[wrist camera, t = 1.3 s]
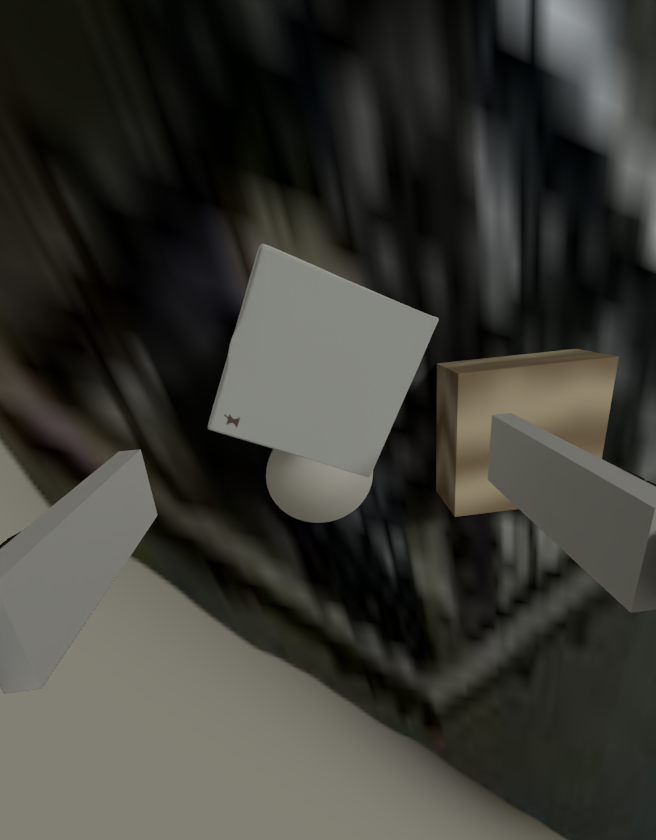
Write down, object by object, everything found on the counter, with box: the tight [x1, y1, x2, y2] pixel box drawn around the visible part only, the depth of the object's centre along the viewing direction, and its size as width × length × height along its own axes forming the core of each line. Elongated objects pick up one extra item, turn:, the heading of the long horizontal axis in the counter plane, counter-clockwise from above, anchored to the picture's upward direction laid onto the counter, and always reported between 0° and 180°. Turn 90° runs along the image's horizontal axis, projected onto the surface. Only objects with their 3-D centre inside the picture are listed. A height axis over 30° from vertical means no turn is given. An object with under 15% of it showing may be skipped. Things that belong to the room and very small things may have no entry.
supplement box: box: [208, 244, 439, 477], centre depth 24 cm, size 9×9×15 cm
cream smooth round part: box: [266, 449, 373, 523], centre depth 34 cm, size 10×10×1 cm
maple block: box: [436, 349, 619, 517], centre depth 33 cm, size 13×13×5 cm
